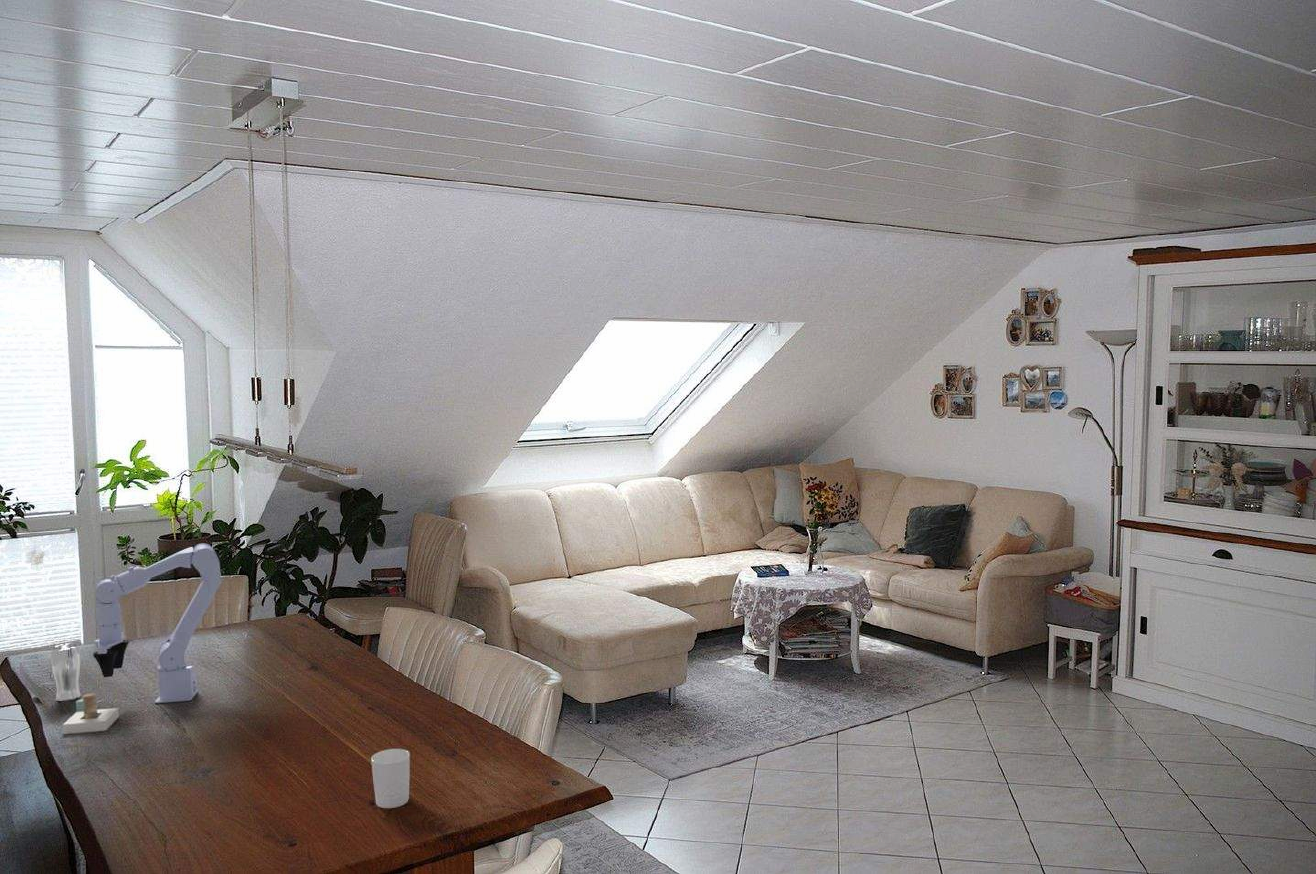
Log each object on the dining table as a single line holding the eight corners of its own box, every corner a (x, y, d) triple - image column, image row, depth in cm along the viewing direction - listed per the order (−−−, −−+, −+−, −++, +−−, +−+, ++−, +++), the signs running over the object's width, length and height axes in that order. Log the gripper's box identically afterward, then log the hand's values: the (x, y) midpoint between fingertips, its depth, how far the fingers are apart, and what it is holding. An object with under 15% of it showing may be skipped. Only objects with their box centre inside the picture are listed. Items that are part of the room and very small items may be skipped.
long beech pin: (99, 722, 262) (97, 693, 262) (95, 727, 259) (93, 697, 259) (87, 724, 261) (84, 694, 261) (83, 728, 259) (80, 698, 258)
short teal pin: (91, 714, 269) (90, 698, 268) (87, 718, 266) (86, 702, 265) (79, 715, 268) (78, 699, 268) (75, 719, 265) (74, 703, 265)
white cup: (377, 794, 215) (375, 749, 214) (414, 792, 215) (412, 747, 214) (369, 811, 207) (367, 764, 206) (408, 809, 207) (406, 762, 207)
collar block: (118, 717, 266) (118, 707, 266) (105, 730, 256) (105, 721, 256) (78, 720, 264) (77, 711, 264) (63, 734, 254) (62, 724, 254)
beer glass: (69, 703, 278) (65, 650, 277) (48, 701, 280) (44, 649, 279) (88, 694, 285) (84, 643, 284) (67, 693, 287) (63, 642, 285)
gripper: (103, 618, 278) (106, 665, 279) (83, 631, 264) (87, 681, 265) (130, 616, 280) (133, 663, 281) (112, 629, 265) (116, 679, 267)
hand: (112, 672), depth 273 cm, fingers open, 7 cm apart
